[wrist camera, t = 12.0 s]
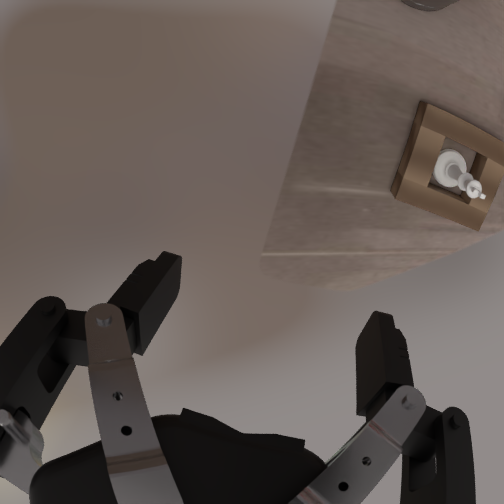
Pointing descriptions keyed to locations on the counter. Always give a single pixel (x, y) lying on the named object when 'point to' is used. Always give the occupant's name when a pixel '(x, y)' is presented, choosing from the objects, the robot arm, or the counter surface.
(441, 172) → the chess piece
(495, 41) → the counter surface
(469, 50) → the counter surface
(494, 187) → the frame
